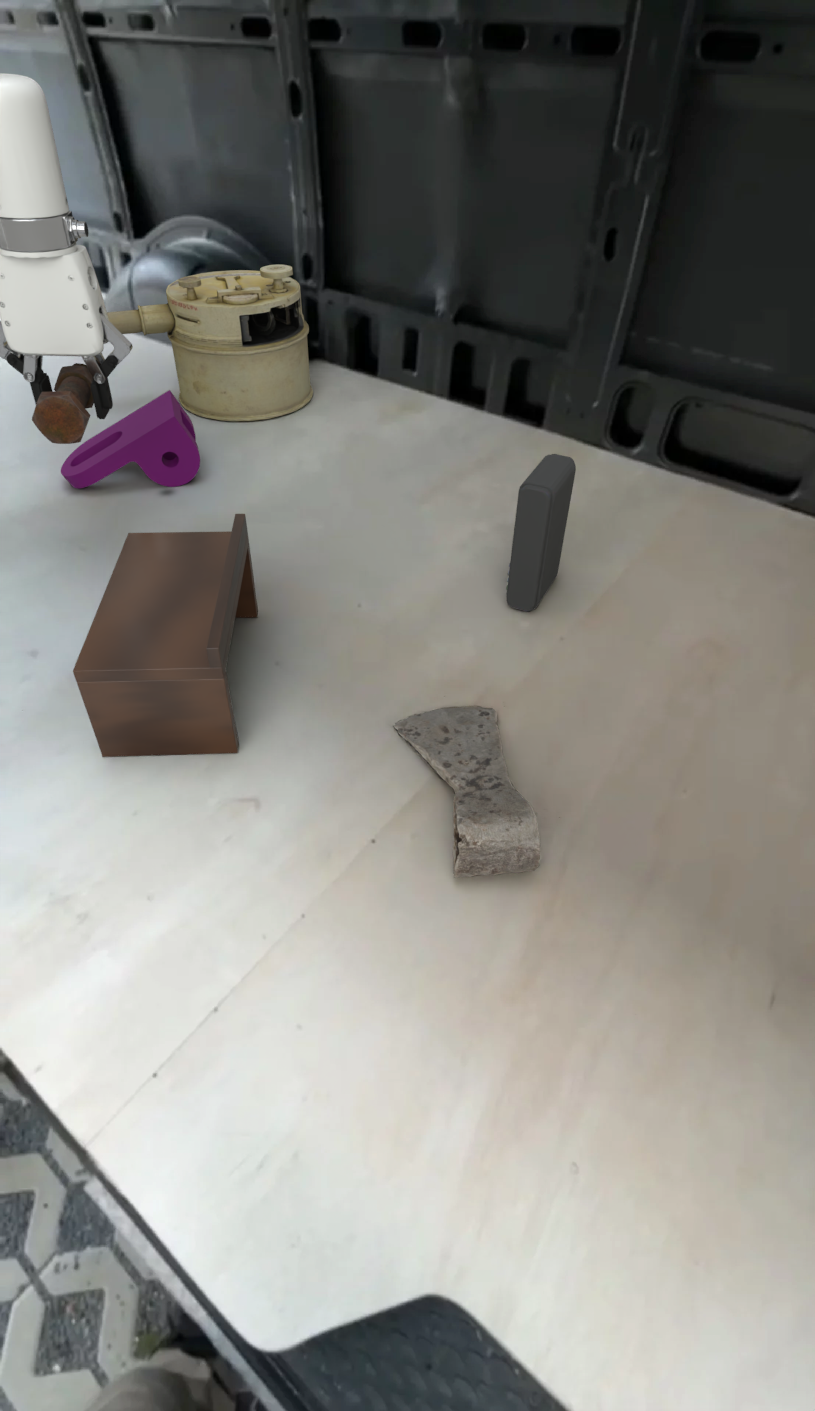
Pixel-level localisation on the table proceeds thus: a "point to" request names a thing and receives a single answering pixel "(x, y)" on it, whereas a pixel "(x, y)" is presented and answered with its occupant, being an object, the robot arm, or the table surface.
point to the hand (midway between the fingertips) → (76, 412)
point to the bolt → (65, 406)
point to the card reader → (539, 531)
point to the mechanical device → (233, 342)
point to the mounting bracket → (140, 447)
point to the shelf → (167, 644)
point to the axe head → (477, 790)
